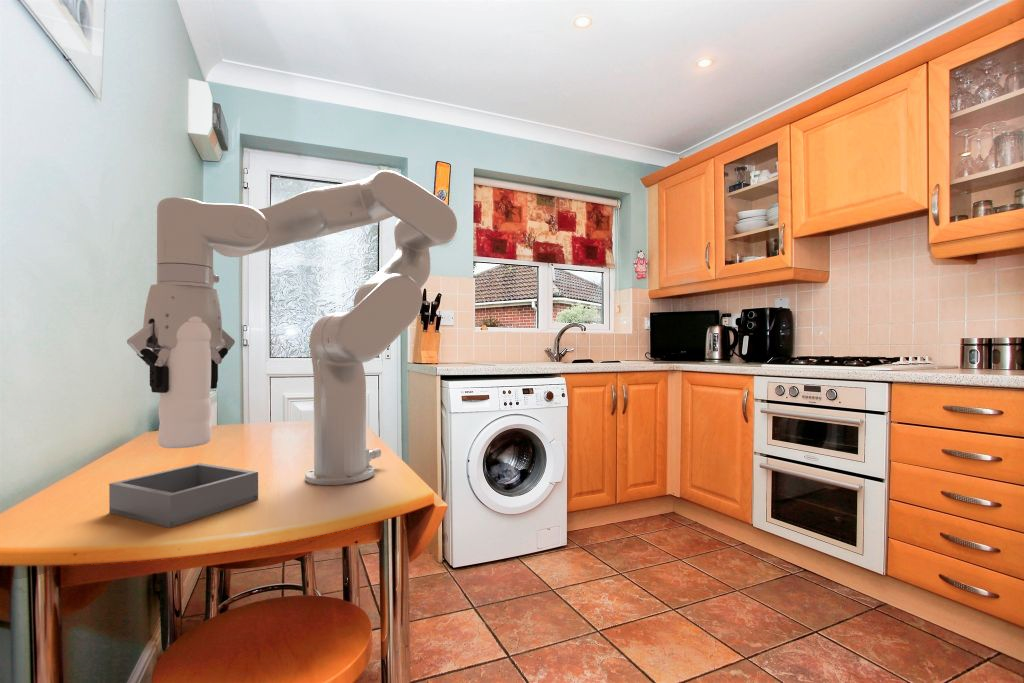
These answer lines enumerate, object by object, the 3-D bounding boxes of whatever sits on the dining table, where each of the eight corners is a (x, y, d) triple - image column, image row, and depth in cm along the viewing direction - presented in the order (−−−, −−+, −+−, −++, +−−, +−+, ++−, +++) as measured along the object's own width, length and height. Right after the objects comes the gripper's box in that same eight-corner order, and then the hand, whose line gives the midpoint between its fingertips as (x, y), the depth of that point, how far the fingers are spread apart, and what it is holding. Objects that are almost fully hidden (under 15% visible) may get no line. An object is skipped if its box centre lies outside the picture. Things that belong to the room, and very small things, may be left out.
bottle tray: (200, 488, 89) (199, 463, 89) (258, 499, 83) (258, 472, 83) (109, 512, 76) (109, 483, 76) (169, 527, 70) (169, 495, 70)
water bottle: (220, 443, 81) (220, 288, 81) (172, 451, 74) (172, 283, 75) (196, 438, 84) (197, 290, 84) (149, 446, 78) (149, 286, 78)
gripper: (221, 285, 89) (221, 385, 89) (109, 273, 73) (109, 394, 73) (250, 283, 86) (250, 386, 86) (139, 269, 70) (139, 396, 70)
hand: (185, 389), depth 79 cm, fingers closed on water bottle, 7 cm apart
